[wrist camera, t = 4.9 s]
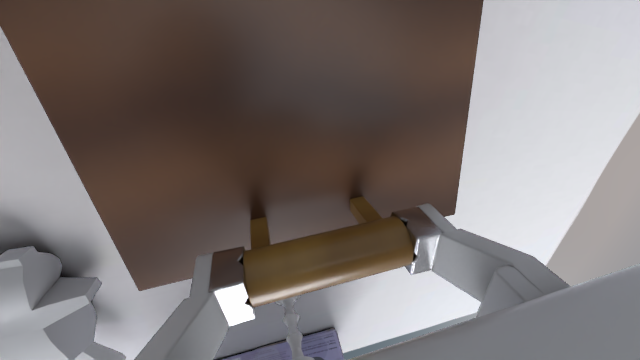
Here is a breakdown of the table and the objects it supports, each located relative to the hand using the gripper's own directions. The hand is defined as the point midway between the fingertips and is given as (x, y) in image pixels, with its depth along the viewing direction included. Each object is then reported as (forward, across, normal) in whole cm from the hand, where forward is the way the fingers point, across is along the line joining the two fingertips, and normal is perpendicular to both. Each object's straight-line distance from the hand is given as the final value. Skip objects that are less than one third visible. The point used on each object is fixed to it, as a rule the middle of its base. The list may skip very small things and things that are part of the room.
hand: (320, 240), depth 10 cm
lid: (+4, 0, -4) cm, 5 cm away
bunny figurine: (+14, +22, +14) cm, 29 cm away
